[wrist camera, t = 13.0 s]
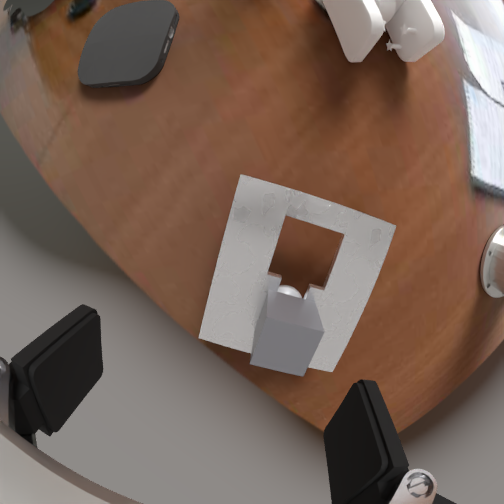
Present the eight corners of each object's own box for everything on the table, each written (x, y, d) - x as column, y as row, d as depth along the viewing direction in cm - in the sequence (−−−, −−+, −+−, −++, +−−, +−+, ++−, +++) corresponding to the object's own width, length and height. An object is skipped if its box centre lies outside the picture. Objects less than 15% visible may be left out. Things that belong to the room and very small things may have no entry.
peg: (311, 289, 31) (324, 331, 22) (296, 326, 32) (303, 376, 23) (269, 277, 31) (266, 317, 22) (256, 315, 32) (249, 364, 23)
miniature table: (370, 215, 33) (396, 225, 25) (323, 337, 37) (332, 372, 30) (248, 176, 33) (240, 174, 25) (213, 307, 37) (198, 337, 30)
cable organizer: (313, -11, 25) (322, -60, 13) (377, -9, 23) (400, -49, 12) (346, 68, 28) (373, 27, 17) (413, 68, 27) (454, 37, 16)
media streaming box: (107, 16, 27) (98, 9, 24) (186, 5, 27) (180, -5, 24) (80, 90, 31) (69, 86, 28) (160, 86, 31) (151, 79, 28)
